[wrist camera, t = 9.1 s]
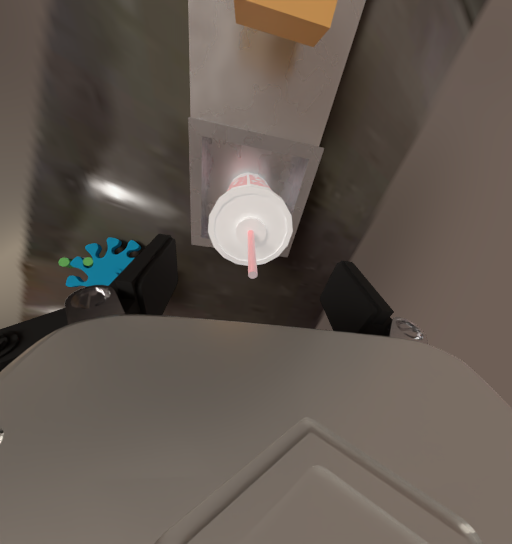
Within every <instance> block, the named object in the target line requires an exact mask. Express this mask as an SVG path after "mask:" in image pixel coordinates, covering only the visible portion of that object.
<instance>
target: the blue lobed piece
mask: <svg viewBox="0 0 512 544" xmlns="http://www.w3.org/2000/svg"><path fill="white" fill-rule="evenodd" d="M107 244H108V250H107V253H106V254H105V256H104V257H103V258H100V257H99V254H100V252H101V250H102V248H101V246H100V245H99V244H96V243H93V244H89V245H86V246H85V249H86V250H87V251H88V252H89V253H90V254H91V256H92V258H89V257H87V258H86V257H83V258H81V257H76V258H74V259H73V260H72V259H68V258H61V259H60V260H59V265H60V266H63V267H69V268H74V267H76V268H79V269H80V270H83V271H84V272H85V273H86V274H87V275H88V280H87V281H86V282H84V281H83V280H82V279H81V278H80V277H78V276H69V277H68V278H67V281H66V286H68V287H78V286H86V287H87V286H92V285H106V286H109V285H110V284H111V283H112V281H113V280H114V279H115V278H116V277H117V276H118V275H119V274H120V273H121V272H122V271H123V270H124V269H125V268H126V267H127V266H128V265H129V264H130V262H131V261H132V260H133V259H134V258H130V257H129V253H130V252H133V251H139V250H140V249H141V246H140V245H139V244H138V243H136V242H135V241H133V240H131V241H129V242H128V245H127V247H126V249H125V250H124V251H122V252H121V253H119V254H117V255H115V253H114V251H115V249H117V248H118V247H120V246H121V244H122V242H121V241H120V240H118V239H116V238H108V239H107Z"/></svg>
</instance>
